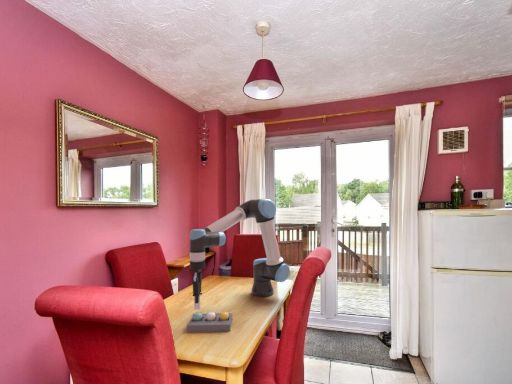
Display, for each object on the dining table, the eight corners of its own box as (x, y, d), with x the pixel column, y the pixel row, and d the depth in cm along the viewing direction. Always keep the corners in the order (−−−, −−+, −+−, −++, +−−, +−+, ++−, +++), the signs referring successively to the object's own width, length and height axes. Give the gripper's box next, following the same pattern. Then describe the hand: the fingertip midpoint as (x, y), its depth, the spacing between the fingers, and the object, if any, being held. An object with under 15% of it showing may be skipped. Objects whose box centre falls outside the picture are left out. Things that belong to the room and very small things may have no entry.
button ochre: (229, 317, 134) (228, 311, 134) (228, 320, 129) (228, 314, 129) (220, 317, 134) (220, 311, 134) (219, 321, 129) (219, 315, 129)
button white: (216, 317, 134) (215, 311, 134) (214, 321, 129) (214, 315, 129) (207, 317, 134) (207, 312, 134) (205, 321, 129) (205, 315, 129)
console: (232, 318, 138) (232, 312, 138) (230, 331, 124) (229, 324, 125) (193, 319, 138) (193, 313, 138) (187, 332, 124) (187, 325, 124)
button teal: (203, 317, 134) (202, 312, 134) (201, 321, 129) (201, 315, 129) (194, 318, 133) (194, 312, 134) (192, 321, 129) (192, 315, 129)
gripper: (192, 258, 140) (192, 304, 138) (186, 263, 127) (186, 314, 125) (207, 258, 140) (207, 304, 138) (202, 262, 127) (202, 314, 125)
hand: (197, 309), depth 131 cm, fingers closed
